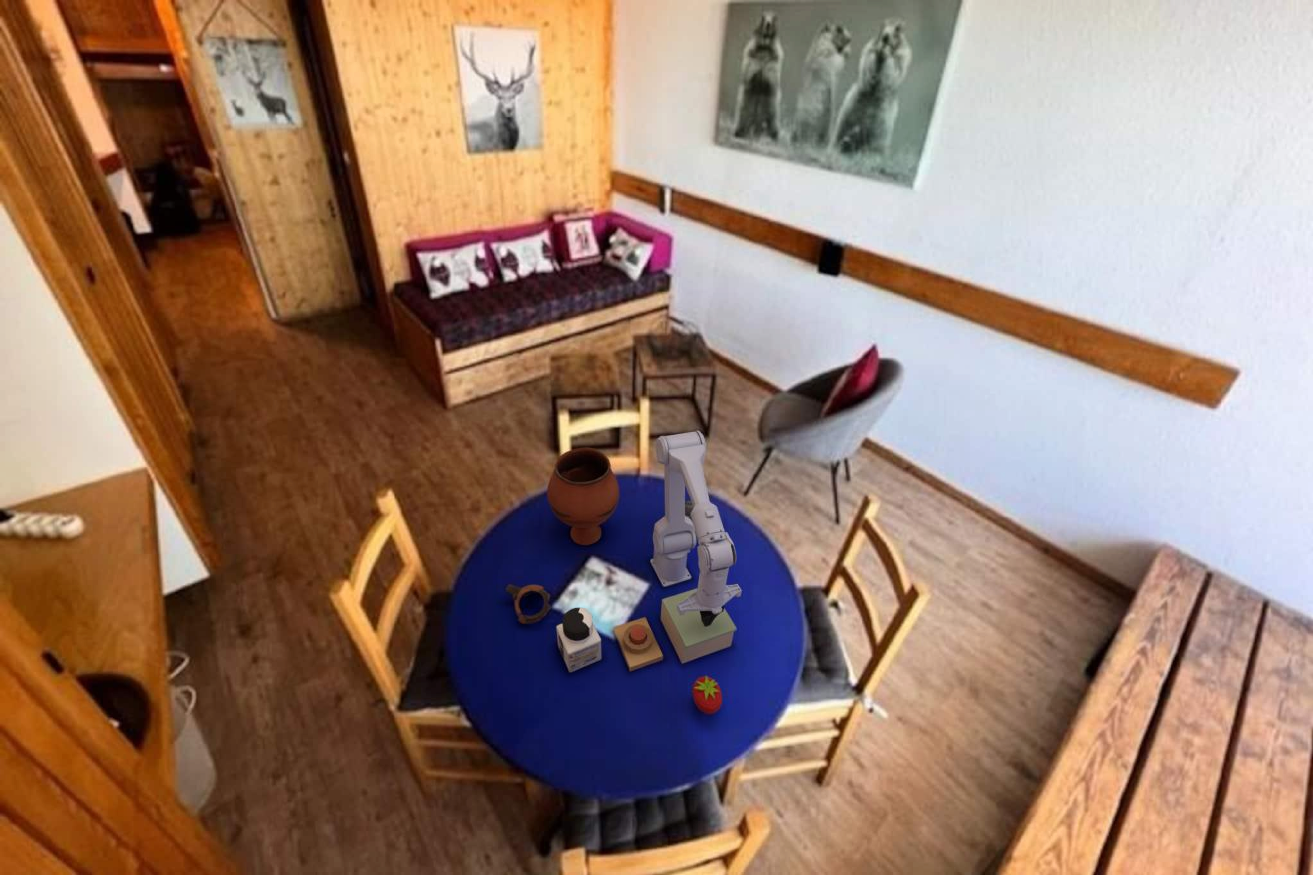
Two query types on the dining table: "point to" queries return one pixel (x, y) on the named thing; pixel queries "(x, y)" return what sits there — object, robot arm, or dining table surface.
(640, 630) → the button
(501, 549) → the dining table surface
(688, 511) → the salt shaker
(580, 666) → the container
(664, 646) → the dining table surface
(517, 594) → the rusty metal ring
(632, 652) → the control block
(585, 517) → the goblet
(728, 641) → the wooden box
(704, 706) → the strawberry
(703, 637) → the lid
